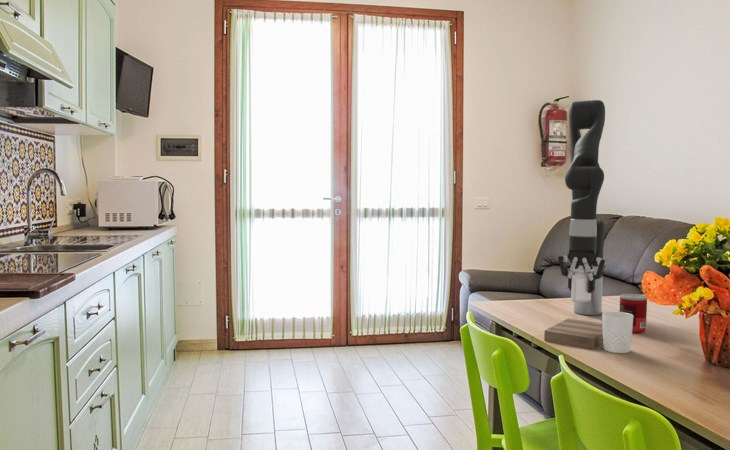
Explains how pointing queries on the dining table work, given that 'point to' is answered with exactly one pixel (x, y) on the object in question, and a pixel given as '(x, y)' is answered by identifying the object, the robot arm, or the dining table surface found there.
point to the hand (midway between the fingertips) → (581, 291)
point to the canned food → (635, 310)
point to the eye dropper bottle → (580, 286)
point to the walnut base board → (576, 333)
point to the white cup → (617, 331)
